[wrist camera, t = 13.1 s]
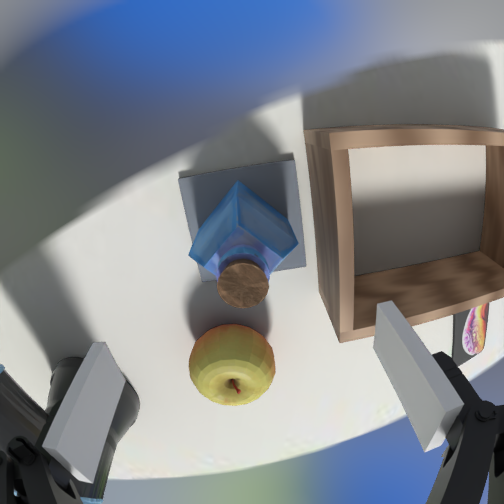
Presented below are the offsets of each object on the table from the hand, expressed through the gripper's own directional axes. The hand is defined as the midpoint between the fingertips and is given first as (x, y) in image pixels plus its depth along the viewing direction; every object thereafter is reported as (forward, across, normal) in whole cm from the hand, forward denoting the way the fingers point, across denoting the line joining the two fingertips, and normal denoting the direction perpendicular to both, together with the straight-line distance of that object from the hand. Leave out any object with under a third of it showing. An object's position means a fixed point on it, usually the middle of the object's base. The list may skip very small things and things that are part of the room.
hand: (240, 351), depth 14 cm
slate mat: (+18, +1, 0) cm, 18 cm away
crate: (+18, +20, 0) cm, 27 cm away
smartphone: (+18, +33, -22) cm, 43 cm away
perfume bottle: (+18, 0, 0) cm, 18 cm away
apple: (+19, -3, -15) cm, 24 cm away
